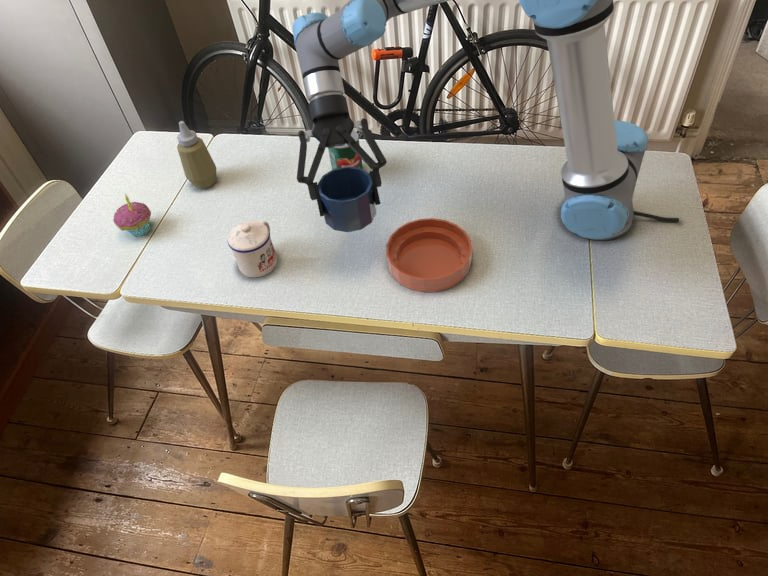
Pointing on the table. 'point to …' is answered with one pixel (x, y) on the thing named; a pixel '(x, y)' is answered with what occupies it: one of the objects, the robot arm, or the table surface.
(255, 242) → the teacup with lid
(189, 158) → the squeeze bottle
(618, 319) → the table surface
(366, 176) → the blue faceted pot
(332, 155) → the canned tomato
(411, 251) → the lower bowl
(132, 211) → the cupcake
